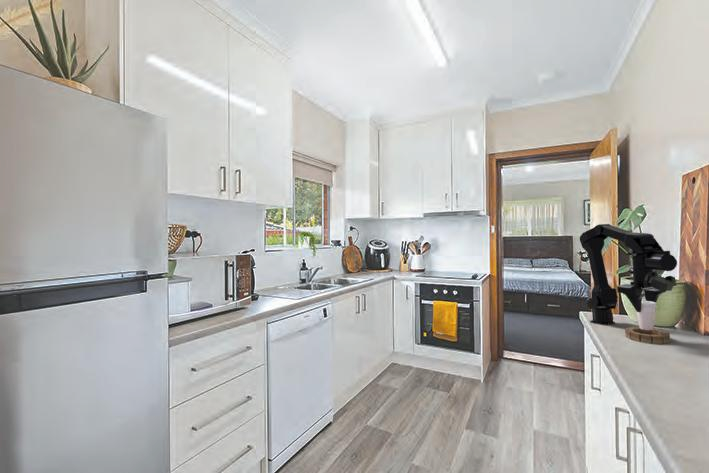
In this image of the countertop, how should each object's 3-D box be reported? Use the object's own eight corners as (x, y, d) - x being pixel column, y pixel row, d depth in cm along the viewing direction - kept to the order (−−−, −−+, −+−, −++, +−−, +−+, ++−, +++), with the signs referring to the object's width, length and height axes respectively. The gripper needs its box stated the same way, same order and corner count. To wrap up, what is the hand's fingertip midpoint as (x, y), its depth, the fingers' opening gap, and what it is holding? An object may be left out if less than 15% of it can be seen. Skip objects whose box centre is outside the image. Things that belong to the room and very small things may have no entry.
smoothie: (631, 328, 122) (628, 290, 122) (640, 325, 125) (638, 288, 125) (652, 332, 116) (650, 292, 116) (661, 329, 119) (659, 290, 119)
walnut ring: (617, 336, 125) (617, 329, 125) (640, 331, 128) (640, 325, 128) (654, 345, 113) (653, 338, 113) (678, 340, 116) (678, 333, 116)
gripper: (649, 272, 110) (652, 319, 110) (687, 267, 116) (690, 312, 116) (614, 269, 121) (617, 312, 121) (651, 265, 126) (653, 306, 126)
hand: (645, 310), depth 121 cm, fingers closed on smoothie, 6 cm apart
